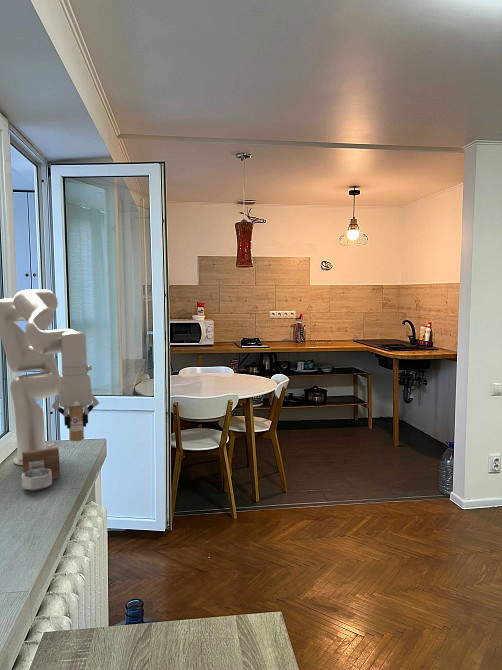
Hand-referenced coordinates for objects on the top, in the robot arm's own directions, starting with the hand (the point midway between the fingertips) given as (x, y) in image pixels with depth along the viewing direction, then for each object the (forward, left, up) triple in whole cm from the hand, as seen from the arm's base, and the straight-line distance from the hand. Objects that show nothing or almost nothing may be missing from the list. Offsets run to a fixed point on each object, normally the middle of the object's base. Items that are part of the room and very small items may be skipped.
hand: (76, 426), depth 169 cm
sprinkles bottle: (0, 0, -5) cm, 5 cm away
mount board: (+2, -14, -18) cm, 23 cm away
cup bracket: (+9, -9, -17) cm, 21 cm away
